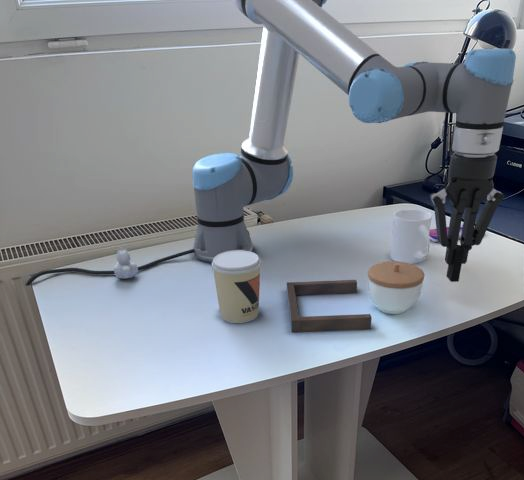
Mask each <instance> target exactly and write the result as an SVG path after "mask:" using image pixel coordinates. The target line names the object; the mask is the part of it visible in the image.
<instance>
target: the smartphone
mask: <svg viewBox="0 0 524 480" xmlns="http://www.w3.org/2000/svg"><path fill="white" fill-rule="evenodd" d="M462 227H463V224H461V227H460V232H459V238H458V240H460V239H461V233H462ZM448 230H449V226H447V236H448ZM429 236H430V241H432V242H434V243H439V242H438V239H437V229H436V228H430V233H429Z"/></svg>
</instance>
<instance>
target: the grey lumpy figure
mask: <svg viewBox="0 0 524 480" xmlns="http://www.w3.org/2000/svg"><path fill="white" fill-rule="evenodd" d="M115 256H116V261H117V262H116V264H115V265H114V266H113V271H114V273H115V274H114V276H116V277H117V278H119V279H125V280H126V279H131V278H133V277H135V276H136V275H137V274H138V272H139V271H138V267H139V266H138V265H137V263H136V262H135V261H133V260H131V254H130V252H129V251H128V250H127V248H123V246H122V245H120V249H118V250H117V253H116V255H115Z"/></svg>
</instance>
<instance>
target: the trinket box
mask: <svg viewBox="0 0 524 480" xmlns="http://www.w3.org/2000/svg"><path fill="white" fill-rule="evenodd" d="M424 280H425V271H424V270H423V269H422V268H421V267H419V266H417V265H415V264H409V263H404V262H396V261H394V260H392V261H382V262H377V263H375V264H372V265H371V266H370V267H369V268H368V270H367V291H368V295H369V298H370V300H371V302H372V303H373V304H374V305H375V307H376V309H377V310H379V311H380V312H382V313H384V314H388V315H400V314H404V313H406V312H407V311H408V310H409V309H410V308H412V307H413V306H414V305H415V304H416V303H417V301H418V299H419V298H420V295H421V292H422V289H423V285H424V284H423V283H424Z"/></svg>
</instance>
